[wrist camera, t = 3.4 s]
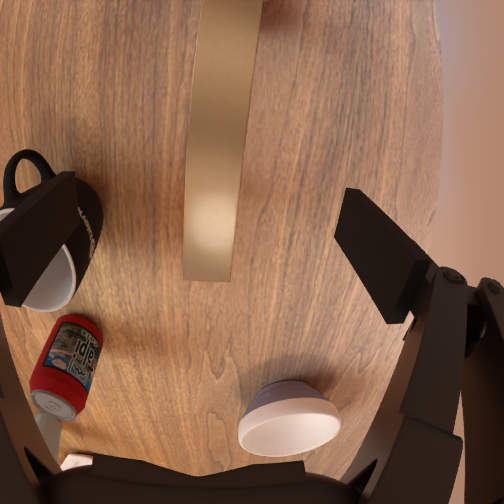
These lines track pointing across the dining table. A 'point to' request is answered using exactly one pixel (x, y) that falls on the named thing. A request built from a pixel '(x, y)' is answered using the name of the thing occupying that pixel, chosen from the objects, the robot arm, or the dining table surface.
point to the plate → (76, 461)
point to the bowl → (287, 420)
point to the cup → (50, 432)
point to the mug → (74, 249)
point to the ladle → (218, 134)
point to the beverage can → (66, 368)
